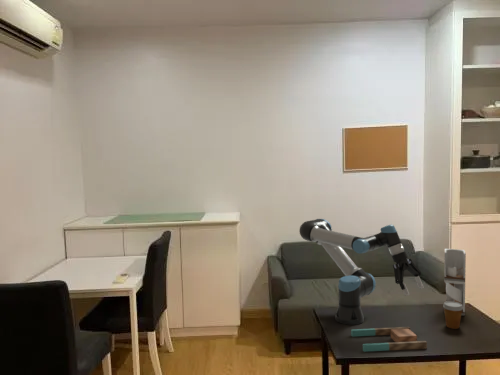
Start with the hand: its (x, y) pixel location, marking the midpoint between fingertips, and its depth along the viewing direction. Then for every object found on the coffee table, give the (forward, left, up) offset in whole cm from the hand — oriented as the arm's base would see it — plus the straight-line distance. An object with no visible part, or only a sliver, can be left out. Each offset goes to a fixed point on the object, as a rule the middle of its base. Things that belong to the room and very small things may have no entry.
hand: (414, 291), depth 230 cm
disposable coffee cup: (+16, +12, -19) cm, 28 cm away
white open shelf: (+11, +37, -19) cm, 43 cm away
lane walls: (0, -22, -19) cm, 29 cm away
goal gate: (-12, -32, -19) cm, 39 cm away
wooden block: (+1, -21, -19) cm, 28 cm away
